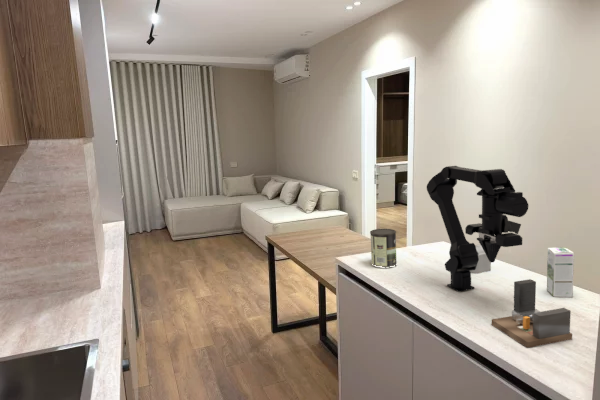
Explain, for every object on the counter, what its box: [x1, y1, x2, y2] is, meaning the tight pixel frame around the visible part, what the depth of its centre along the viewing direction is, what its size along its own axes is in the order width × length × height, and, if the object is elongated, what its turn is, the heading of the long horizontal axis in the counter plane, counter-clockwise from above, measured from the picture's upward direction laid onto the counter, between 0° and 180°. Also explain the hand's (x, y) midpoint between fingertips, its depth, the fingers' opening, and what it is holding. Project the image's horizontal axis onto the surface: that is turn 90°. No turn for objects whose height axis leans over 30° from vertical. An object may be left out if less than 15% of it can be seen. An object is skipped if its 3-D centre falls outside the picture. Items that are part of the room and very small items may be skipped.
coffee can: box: [369, 228, 398, 267], centre depth 169 cm, size 10×10×14 cm
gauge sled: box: [511, 278, 541, 325], centre depth 110 cm, size 6×7×10 cm
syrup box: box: [546, 246, 575, 298], centre depth 130 cm, size 6×6×14 cm
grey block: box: [470, 244, 492, 275], centre depth 159 cm, size 10×13×9 cm
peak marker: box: [523, 316, 530, 329], centre depth 106 cm, size 1×1×3 cm
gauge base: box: [491, 307, 573, 349], centre depth 108 cm, size 13×13×8 cm
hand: (491, 261), depth 126 cm, fingers closed
